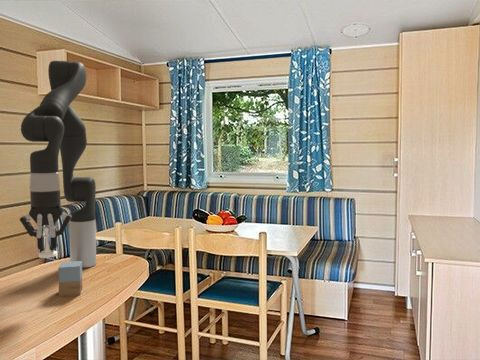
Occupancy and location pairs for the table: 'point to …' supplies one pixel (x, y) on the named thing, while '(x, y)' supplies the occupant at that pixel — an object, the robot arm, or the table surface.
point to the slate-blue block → (70, 271)
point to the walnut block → (70, 288)
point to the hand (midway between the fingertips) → (47, 250)
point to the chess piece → (47, 245)
